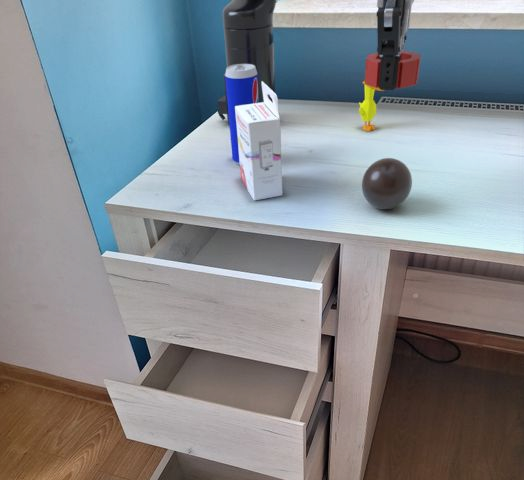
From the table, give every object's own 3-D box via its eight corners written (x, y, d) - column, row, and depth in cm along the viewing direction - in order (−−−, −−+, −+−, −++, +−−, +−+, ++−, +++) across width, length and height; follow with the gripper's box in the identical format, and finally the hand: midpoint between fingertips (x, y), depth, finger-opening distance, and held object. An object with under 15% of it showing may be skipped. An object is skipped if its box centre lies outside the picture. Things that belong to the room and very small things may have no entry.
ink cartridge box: (239, 180, 86) (231, 83, 76) (267, 175, 87) (263, 79, 77) (253, 201, 80) (246, 99, 70) (283, 196, 80) (281, 94, 71)
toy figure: (388, 131, 99) (396, 61, 92) (375, 136, 98) (382, 65, 90) (363, 123, 104) (368, 55, 96) (350, 127, 102) (354, 59, 94)
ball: (355, 215, 75) (359, 167, 70) (364, 194, 80) (368, 148, 75) (405, 220, 73) (412, 172, 68) (411, 199, 78) (418, 152, 73)
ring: (361, 88, 68) (363, 62, 66) (369, 74, 73) (371, 50, 71) (414, 89, 67) (417, 63, 65) (419, 75, 71) (422, 50, 69)
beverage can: (262, 165, 90) (258, 70, 80) (233, 167, 90) (224, 72, 80) (260, 154, 94) (256, 62, 84) (232, 156, 94) (224, 64, 84)
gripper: (379, -86, 62) (368, 73, 74) (358, -80, 53) (349, 101, 64) (443, -90, 60) (422, 74, 72) (434, -85, 51) (411, 103, 62)
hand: (388, 86), depth 68 cm, fingers closed on ring, 1 cm apart
